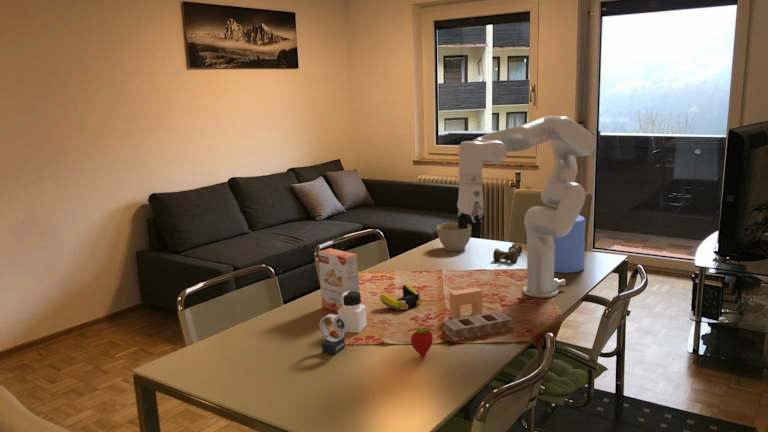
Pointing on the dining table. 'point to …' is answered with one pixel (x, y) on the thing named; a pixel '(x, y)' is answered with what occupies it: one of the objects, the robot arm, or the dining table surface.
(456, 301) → the peach block
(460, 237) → the planter bowl
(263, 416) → the dining table surface
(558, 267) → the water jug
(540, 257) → the robot arm
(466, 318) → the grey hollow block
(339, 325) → the watch
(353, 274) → the cracker box
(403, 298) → the gaming controller
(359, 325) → the medicine bottle
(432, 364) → the dining table surface
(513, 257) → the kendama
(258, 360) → the dining table surface
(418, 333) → the strawberry
